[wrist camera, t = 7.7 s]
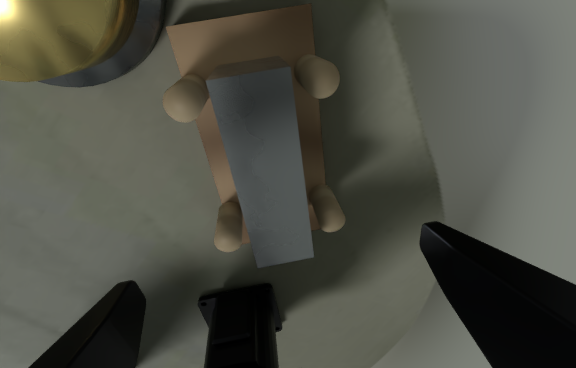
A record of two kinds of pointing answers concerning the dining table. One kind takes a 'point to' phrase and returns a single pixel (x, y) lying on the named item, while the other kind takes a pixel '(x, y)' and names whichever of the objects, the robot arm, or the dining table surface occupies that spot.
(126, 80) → the dining table surface
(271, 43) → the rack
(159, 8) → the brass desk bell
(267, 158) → the long grey slab
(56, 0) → the brass disc with block
